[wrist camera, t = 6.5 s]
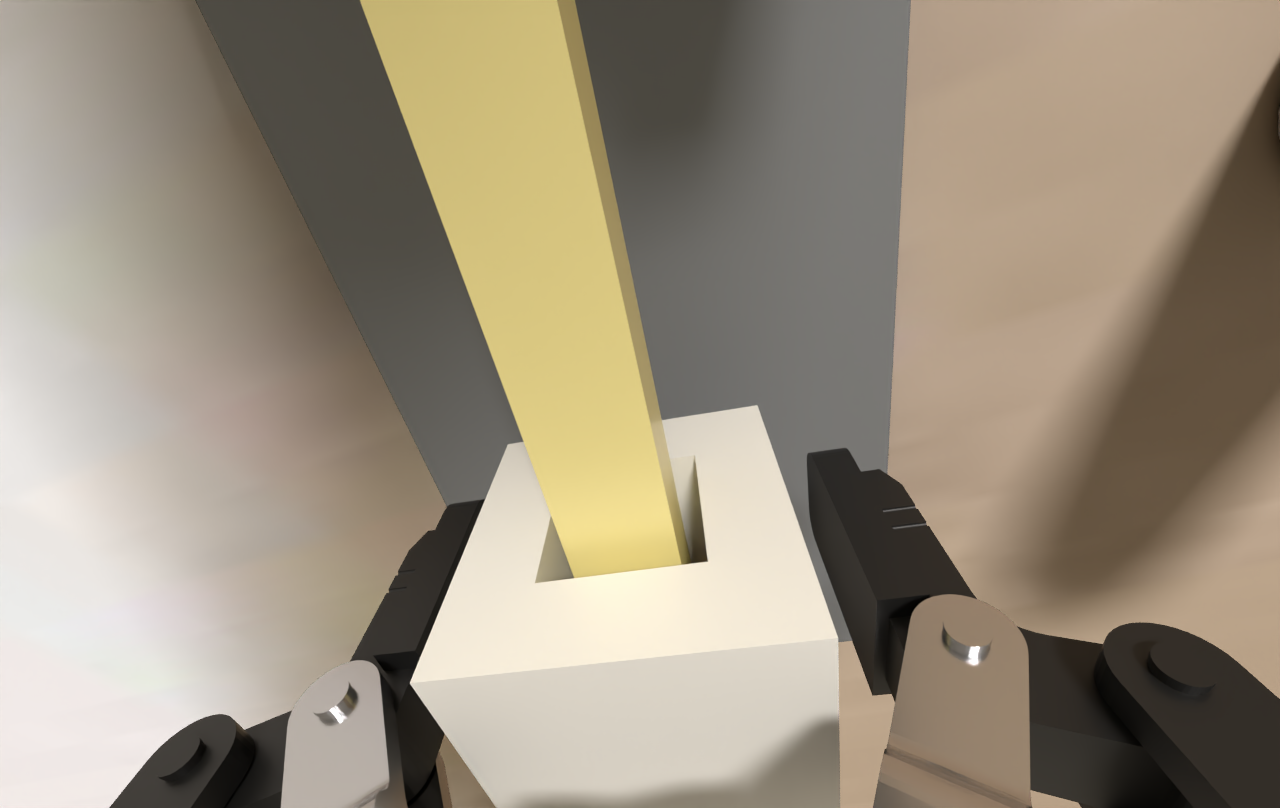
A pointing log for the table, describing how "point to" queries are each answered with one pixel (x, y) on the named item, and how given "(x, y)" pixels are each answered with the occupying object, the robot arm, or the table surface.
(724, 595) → the sleeve
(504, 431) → the grey base plate
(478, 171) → the cord rig
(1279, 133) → the energy drink
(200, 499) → the table surface
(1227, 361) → the table surface
